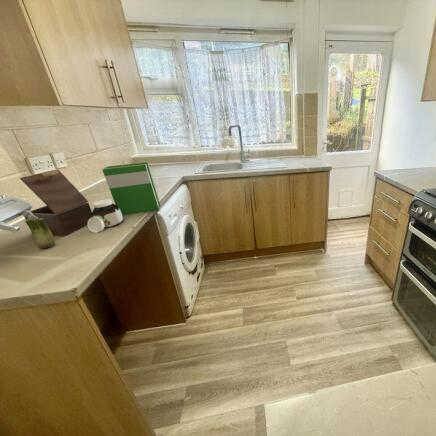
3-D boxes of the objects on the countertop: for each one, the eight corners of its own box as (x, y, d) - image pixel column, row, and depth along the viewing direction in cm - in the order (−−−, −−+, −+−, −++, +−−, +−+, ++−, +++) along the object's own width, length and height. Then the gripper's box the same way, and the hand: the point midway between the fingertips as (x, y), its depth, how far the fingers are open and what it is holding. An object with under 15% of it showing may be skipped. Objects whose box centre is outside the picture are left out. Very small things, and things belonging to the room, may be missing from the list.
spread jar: (126, 220, 117) (117, 197, 112) (120, 230, 107) (110, 205, 102) (96, 225, 113) (86, 201, 108) (87, 235, 103) (76, 210, 99)
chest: (33, 234, 106) (22, 213, 102) (65, 220, 119) (57, 201, 115) (66, 236, 103) (56, 214, 99) (95, 221, 117) (88, 202, 113)
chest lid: (19, 178, 95) (25, 172, 93) (57, 170, 108) (63, 164, 106) (55, 214, 99) (61, 208, 98) (87, 202, 113) (93, 196, 111)
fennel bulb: (60, 244, 97) (45, 216, 92) (46, 250, 92) (30, 222, 87) (49, 242, 98) (35, 215, 93) (35, 249, 94) (19, 221, 89)
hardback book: (160, 206, 133) (147, 162, 123) (159, 210, 126) (145, 164, 116) (123, 212, 127) (106, 166, 117) (120, 217, 121) (102, 169, 111)
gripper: (1, 200, 95) (42, 220, 101) (-53, 221, 77) (0, 244, 82) (9, 188, 94) (49, 209, 100) (-44, 206, 76) (9, 230, 81)
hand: (27, 225), depth 91 cm, fingers open, 8 cm apart
